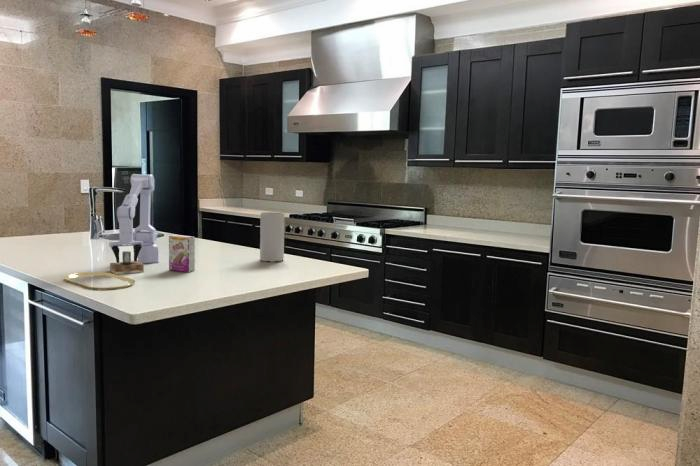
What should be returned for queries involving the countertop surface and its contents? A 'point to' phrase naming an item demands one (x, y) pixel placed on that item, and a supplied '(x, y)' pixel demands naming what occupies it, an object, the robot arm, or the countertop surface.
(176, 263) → the candy bar box
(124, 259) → the pin
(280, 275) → the countertop surface
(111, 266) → the socket block
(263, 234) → the cylinder vase
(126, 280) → the yellow rubber band
